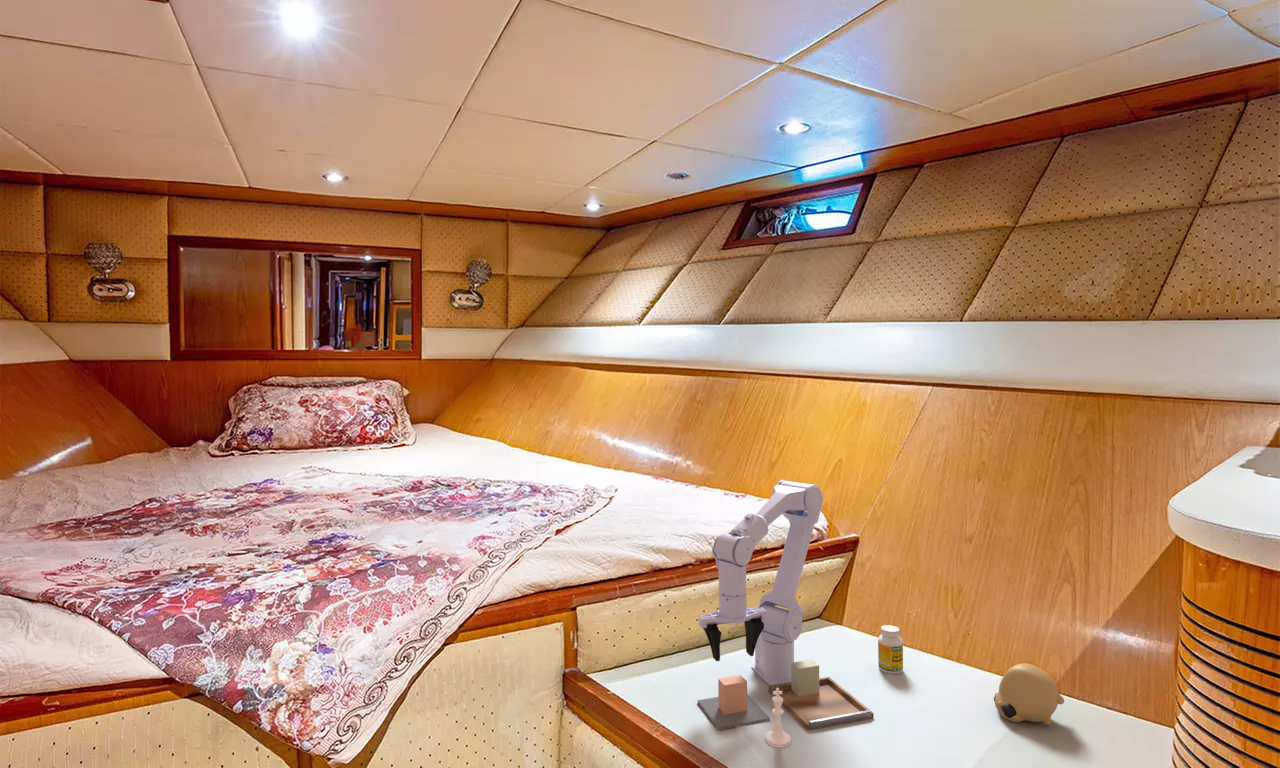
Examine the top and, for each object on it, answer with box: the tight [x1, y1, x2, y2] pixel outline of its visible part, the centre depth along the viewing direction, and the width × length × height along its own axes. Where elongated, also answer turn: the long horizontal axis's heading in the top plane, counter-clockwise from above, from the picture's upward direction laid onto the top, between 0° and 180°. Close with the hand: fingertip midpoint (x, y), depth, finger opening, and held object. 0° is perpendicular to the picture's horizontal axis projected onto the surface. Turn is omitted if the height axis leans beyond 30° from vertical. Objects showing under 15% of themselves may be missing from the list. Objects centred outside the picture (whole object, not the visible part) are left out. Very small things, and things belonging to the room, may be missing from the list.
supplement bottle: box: [877, 624, 904, 675], centre depth 154 cm, size 5×5×10 cm
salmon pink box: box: [717, 674, 748, 715], centre depth 136 cm, size 3×5×6 cm, turn 107°
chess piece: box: [764, 688, 792, 748], centre depth 126 cm, size 5×5×10 cm
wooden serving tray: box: [768, 676, 874, 731], centre depth 138 cm, size 16×15×2 cm
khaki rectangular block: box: [791, 659, 820, 697], centre depth 144 cm, size 3×5×6 cm, turn 106°
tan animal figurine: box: [993, 662, 1065, 726], centre depth 132 cm, size 10×12×11 cm
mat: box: [697, 693, 771, 731], centre depth 136 cm, size 11×11×1 cm
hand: (733, 656), depth 140 cm, fingers open, 7 cm apart
